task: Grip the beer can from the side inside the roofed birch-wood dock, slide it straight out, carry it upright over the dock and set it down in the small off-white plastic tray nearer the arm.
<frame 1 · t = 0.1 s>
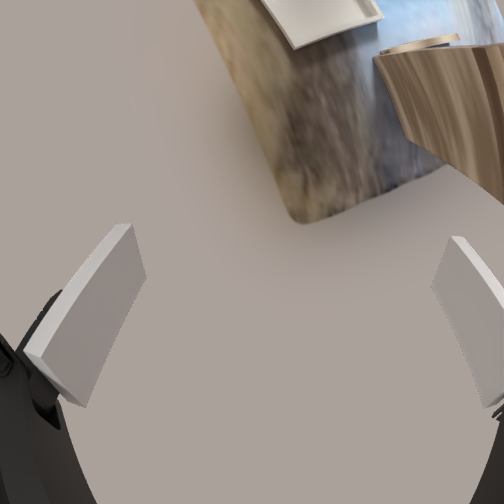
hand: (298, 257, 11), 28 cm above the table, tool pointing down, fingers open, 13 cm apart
dock: (438, 82, 27), on the table
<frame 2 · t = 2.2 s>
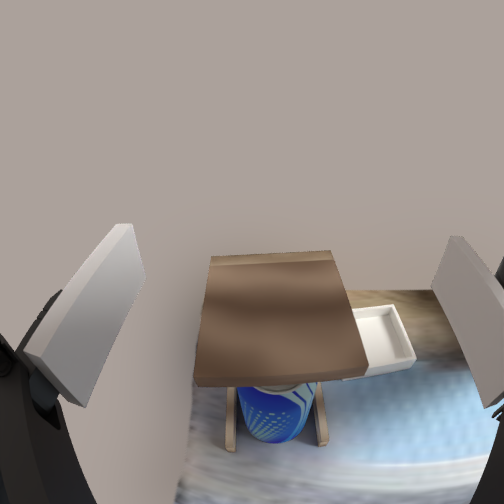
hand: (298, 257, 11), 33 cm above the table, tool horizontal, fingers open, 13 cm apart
beer can: (275, 419, 35), on the table
tray: (368, 345, 43), on the table
dock: (275, 419, 35), on the table
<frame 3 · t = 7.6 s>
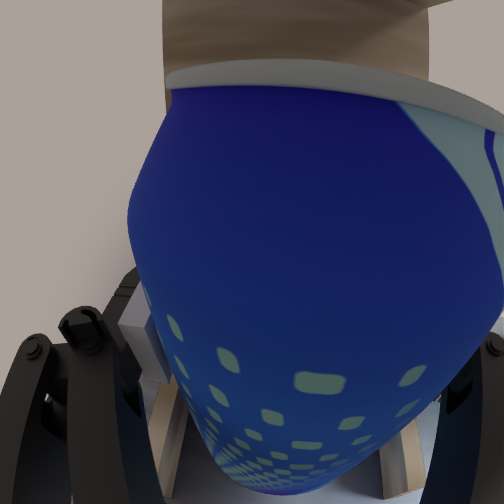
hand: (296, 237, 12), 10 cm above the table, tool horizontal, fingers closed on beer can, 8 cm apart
beer can: (283, 431, 14), on the table, touching gripper
dock: (283, 430, 13), on the table
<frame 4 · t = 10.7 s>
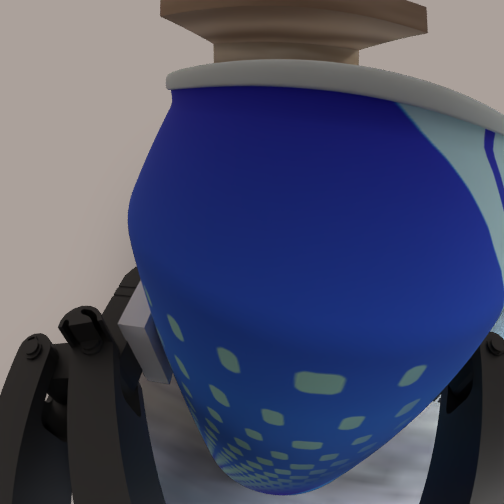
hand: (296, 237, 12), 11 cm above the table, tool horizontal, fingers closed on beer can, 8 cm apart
beer can: (283, 431, 14), point 1 cm above the table, touching gripper
dock: (281, 303, 24), on the table
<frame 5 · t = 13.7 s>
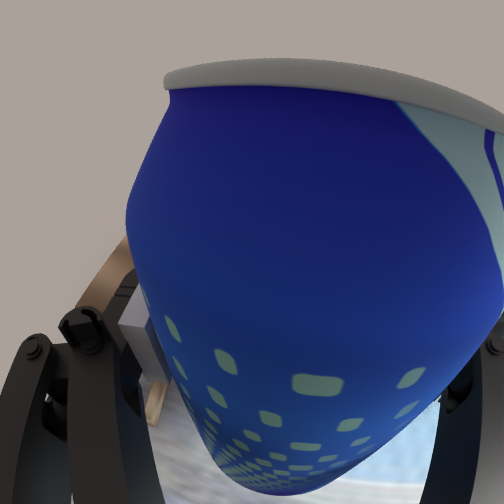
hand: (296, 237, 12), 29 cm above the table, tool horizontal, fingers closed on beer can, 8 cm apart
beer can: (282, 431, 14), point 20 cm above the table, touching gripper
dock: (203, 401, 34), on the table
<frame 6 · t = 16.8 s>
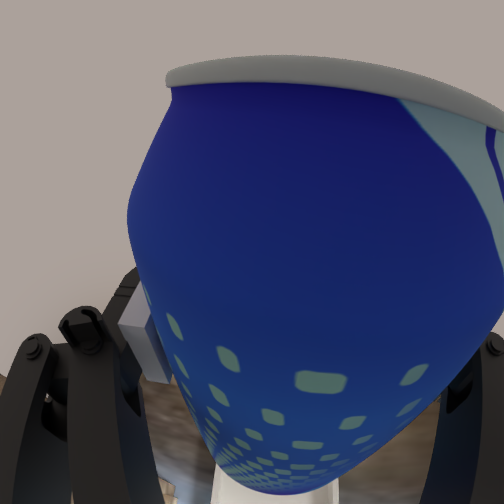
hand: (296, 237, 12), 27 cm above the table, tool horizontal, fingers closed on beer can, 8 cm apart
beer can: (283, 431, 14), point 17 cm above the table, touching gripper
tray: (275, 474, 23), on the table
when the fingers open (12 cm above the table, at t = 19.7 s): beer can drops 2 cm, resting on tray.
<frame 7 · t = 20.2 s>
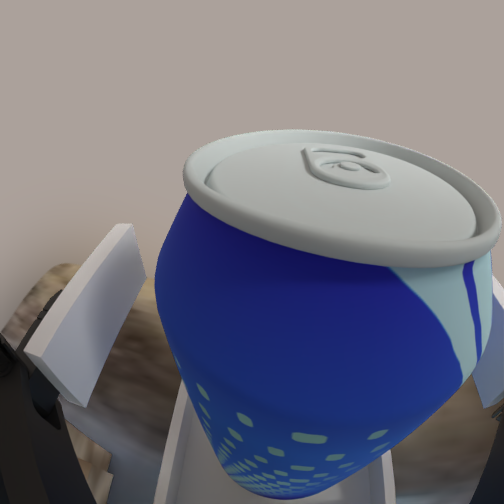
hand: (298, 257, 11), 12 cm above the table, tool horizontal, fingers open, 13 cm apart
beer can: (285, 441, 14), point 1 cm above the table, touching tray
tray: (278, 442, 15), on the table
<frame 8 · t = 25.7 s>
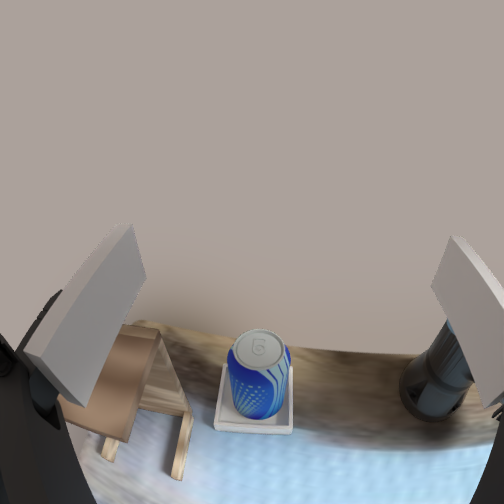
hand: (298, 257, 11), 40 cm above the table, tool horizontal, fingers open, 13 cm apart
beer can: (258, 401, 44), point 1 cm above the table, touching tray
tray: (255, 402, 44), on the table
dock: (149, 446, 36), on the table
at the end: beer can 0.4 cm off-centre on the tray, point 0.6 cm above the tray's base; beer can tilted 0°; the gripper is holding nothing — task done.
